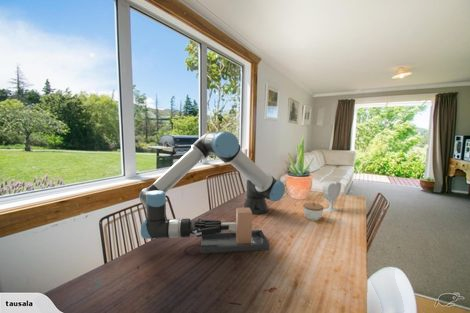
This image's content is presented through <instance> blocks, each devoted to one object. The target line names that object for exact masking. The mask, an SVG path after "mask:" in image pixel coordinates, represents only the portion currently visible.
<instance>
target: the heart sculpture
mask: <svg viewBox="0 0 470 313" xmlns="http://www.w3.org/2000/svg"><path fill="white" fill-rule="evenodd" d="M341 192H342V183H341V182H339V181H334V180H331V181H327V182H325V183H324V184H323V186H322V195H323V197H324V198H325V199H326V200H327V201H328V208H327V207H326V208H323V213H324V212H325V213H329V214H331V213H332V212H336V211H338V210H340V208H338V207H336V206H334V203H335V202H336V200H337V199H338V198H339V196H340V193H341Z"/></svg>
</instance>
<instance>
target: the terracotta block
mask: <svg viewBox="0 0 470 313" xmlns="http://www.w3.org/2000/svg"><path fill="white" fill-rule="evenodd" d="M235 222H236V230H235V231H236V241H237V244H239V243H251V237H252V229H253V228H252V226H253V214H252V211H251V209H250V208H244V207H236V208H235Z"/></svg>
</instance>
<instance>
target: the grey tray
mask: <svg viewBox="0 0 470 313" xmlns="http://www.w3.org/2000/svg"><path fill="white" fill-rule="evenodd" d="M267 250H270V243H269V241H268V240H267V237H266V236H265V233H264V232H263V231H262V229H255V230H254V229H253V230H252V237H251V243H239V244H237V241H236V230H226V231H221V233H216V234H210V235H203V236H201V243H200V254H211V253H212V254H213V253H215V254H216V253H233V252H250V251H251V252H253V251H267Z"/></svg>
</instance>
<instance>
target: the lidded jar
mask: <svg viewBox="0 0 470 313" xmlns="http://www.w3.org/2000/svg"><path fill="white" fill-rule="evenodd" d="M324 209H325V208H324V205H322V204H320V203H316V202H306V203H305V202H304V203H303V213H304V216H305V217H306V219H307V220H309V221H313V222H314V221H315V222H317V221H319V220H320V219H321V218H322V216H323V214H324V211H323V210H324Z"/></svg>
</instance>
